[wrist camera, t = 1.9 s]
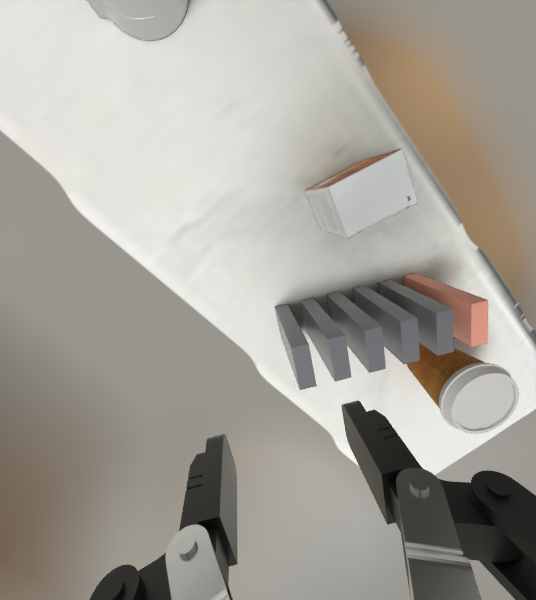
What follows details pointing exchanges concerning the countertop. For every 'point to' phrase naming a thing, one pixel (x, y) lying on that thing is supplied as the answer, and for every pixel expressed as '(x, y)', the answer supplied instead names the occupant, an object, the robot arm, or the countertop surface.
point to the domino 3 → (358, 331)
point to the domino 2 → (327, 339)
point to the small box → (363, 195)
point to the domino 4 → (391, 323)
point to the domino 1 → (296, 347)
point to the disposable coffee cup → (466, 389)
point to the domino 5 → (423, 316)
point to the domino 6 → (456, 308)
